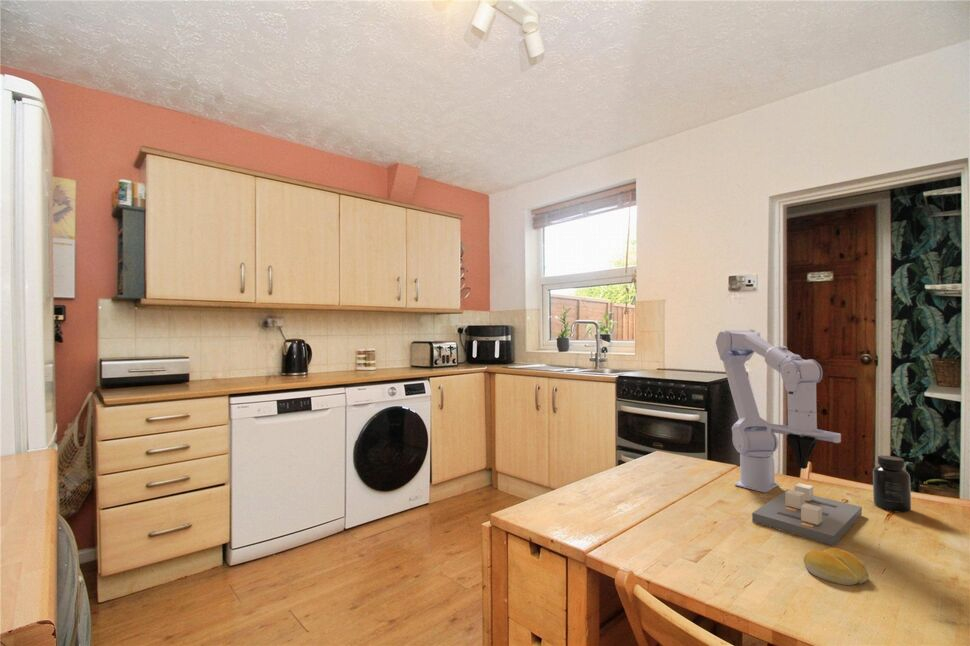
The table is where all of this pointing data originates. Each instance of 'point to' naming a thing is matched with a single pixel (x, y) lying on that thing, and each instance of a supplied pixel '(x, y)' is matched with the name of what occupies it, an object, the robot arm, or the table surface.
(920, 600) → the table surface
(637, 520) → the table surface
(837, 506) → the switch panel
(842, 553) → the bread roll
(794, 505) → the slider middle
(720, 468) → the table surface
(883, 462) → the supplement bottle
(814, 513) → the block
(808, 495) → the block
